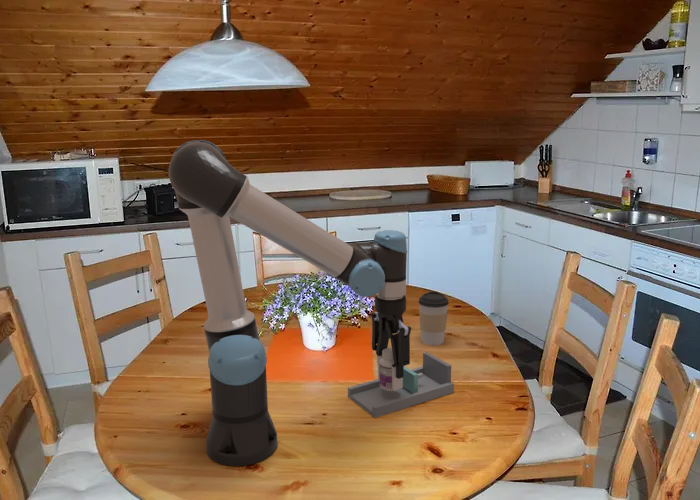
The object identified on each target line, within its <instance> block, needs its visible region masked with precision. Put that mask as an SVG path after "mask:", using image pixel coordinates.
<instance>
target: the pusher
mask: <svg viewBox="0 0 700 500" xmlns="http://www.w3.org/2000/svg"><path fill="white" fill-rule="evenodd" d="M420 377H423V373H419V374H417V373H415V372H413V371H412V370H411V369H410V368H408V367H406V366H404V376H403V387H404V388H405V389H407V390H408V391H410V392H412V393H416V392H418V378H420Z"/></svg>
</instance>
